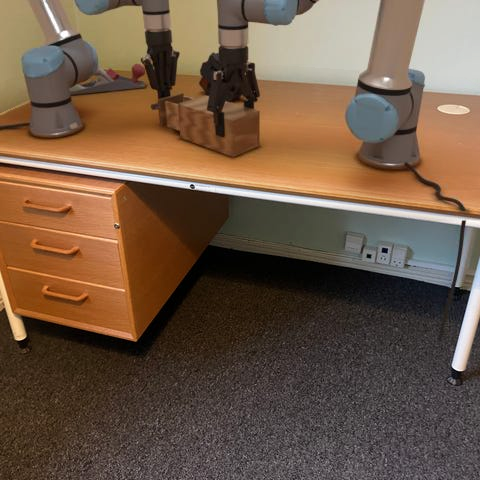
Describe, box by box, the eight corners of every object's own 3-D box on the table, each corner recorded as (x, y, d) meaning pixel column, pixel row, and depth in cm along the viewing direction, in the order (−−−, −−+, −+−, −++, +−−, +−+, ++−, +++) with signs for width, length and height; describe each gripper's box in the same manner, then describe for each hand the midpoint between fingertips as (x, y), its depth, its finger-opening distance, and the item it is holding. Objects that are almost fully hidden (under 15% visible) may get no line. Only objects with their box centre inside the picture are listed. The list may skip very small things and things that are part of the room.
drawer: (148, 122, 163) (145, 95, 158) (171, 114, 168) (169, 89, 164) (206, 143, 148) (204, 114, 143) (229, 134, 153) (228, 106, 149)
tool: (204, 81, 194) (218, 46, 183) (240, 115, 190) (257, 82, 179) (193, 84, 190) (206, 49, 179) (229, 120, 186) (245, 86, 175)
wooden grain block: (180, 137, 154) (177, 103, 149) (206, 128, 160) (204, 95, 155) (233, 157, 141) (232, 120, 136) (259, 146, 148) (259, 110, 142)
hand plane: (62, 90, 197) (53, 48, 189) (145, 82, 205) (140, 41, 197) (62, 96, 191) (54, 53, 184) (148, 87, 199) (143, 45, 191)
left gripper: (167, 24, 156) (173, 103, 168) (131, 31, 148) (141, 113, 160) (184, 27, 152) (189, 108, 164) (148, 34, 144) (156, 119, 156)
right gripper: (252, 35, 142) (252, 116, 154) (189, 51, 128) (194, 138, 140) (274, 39, 138) (272, 122, 149) (210, 56, 123) (214, 145, 135)
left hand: (165, 111), depth 162 cm, fingers closed
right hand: (234, 130), depth 145 cm, fingers closed on wooden grain block, 10 cm apart
